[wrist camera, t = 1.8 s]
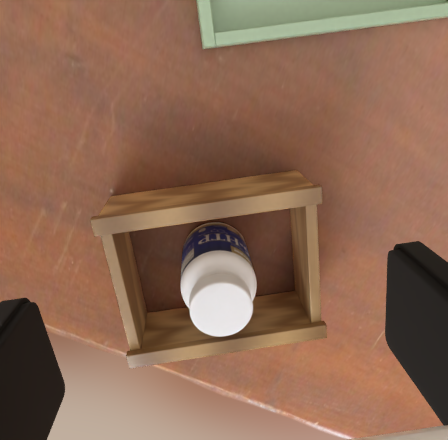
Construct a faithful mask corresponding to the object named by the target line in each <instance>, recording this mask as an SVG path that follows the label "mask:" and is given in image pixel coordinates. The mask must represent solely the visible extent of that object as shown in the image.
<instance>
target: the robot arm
mask: <svg viewBox="0 0 448 440" xmlns="http://www.w3.org/2000/svg"><path fill="white" fill-rule="evenodd" d="M385 336H386V341H387V344H388V346H389V348H390V349H391V351H392V352H393V354H394V355H395V357H396V358H397V359H398V361H399V362H400V364H401V365H402V367H403V368H404V369H405V371H406V372H407V374H408V375H409V377H410V378H411V379H412V381H413V382H414V384H415V385H416V386H417V388H418V389H419V391H420V392H421V394H422V395H423V396H424V398H425V399H426V401H427V402H428V404H429V405H430V406H431V408H432V409H433V411H434V412H435V413H436V415H437V416H438V418H439V419H440V421H441V422H442V423H443V425H444V426H437V427H430V428H423V429H416V430H409V431H402V432H396V433H389V434H382V435H376V436H369V437H362V438H355V439H349V440H448V262H446V261H445V260H444V259H442V258H441V257H440V256H438V255H437V254H436V253H434V252H433V251H432V250H430V249H429V248H428V247H427V246H425V245H424V244H423V243H421V242H419V241H416V242H409V243H402V244H396V245H395V247H394V250H391V251H389V253H388V262H387V294H386V326H385ZM64 393H65V384H64V380H63V377H62V374H61V371H60V369H59V366H58V363H57V360H56V357H55V354H54V351H53V348H52V346H51V343H50V340H49V337H48V335H47V331H46V328H45V325H44V323H43V320H42V317H41V314H40V311H39V308H38V306H37V304H36V303H34V302H30V301H29V300H28V299H27V298H21V299H14V300H7V301H2V302H1V303H0V440H47V437H48V435H49V432H50V429H51V427H52V425H53V422H54V420H55V417H56V415H57V412H58V410H59V407H60V405H61V402H62V400H63V397H64Z"/></svg>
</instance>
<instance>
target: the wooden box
mask: <svg viewBox="0 0 448 440" xmlns="http://www.w3.org/2000/svg"><path fill="white" fill-rule="evenodd" d="M317 204H322V186H320V185H319V184H318V185H313V184H312V183H310V182H309V181H308V180H307V179H306V178H305V177H304V176H303V175H302V174H301V173H300V172H299V171H297V170H293V171H286V172H279V173H272V174H265V175H258V176H251V177H244V178H237V179H229V180H222V181H215V182H208V183H201V184H194V185H187V186H180V187H173V188H166V189H159V190H152V191H145V192H137V193H130V194H123V195H116V196H111V197H110V198H109V200H108V201H107V203H106V204H105V206H104V208H103V209H102V211H101V212H100V214H99V215H98V216H93V217H92V218H91V219H90V222H91V226H92V229H93V233H94V236H101V240H102V243H103V247H104V251H105V255H106V259H107V263H108V267H109V271H110V274H111V278H112V282H113V286H114V290H115V294H116V298H117V301H118V305H119V309H120V313H121V317H122V321H123V325H124V329H125V332H126V336H127V340H128V344H129V348H130V351H127V355H126V357H127V361H128V365H129V368H136V367H143V366H149V365H156V364H162V363H169V362H175V361H182V360H188V359H194V358H201V357H207V356H214V355H220V354H227V353H233V352H240V351H246V350H252V349H259V348H265V347H272V346H278V345H285V344H291V343H297V342H304V341H310V340H317V339H323V338H327V325H326V323H325V322H324V321H321V298H320V272H319V247H318V221H317ZM289 208H290V221H291V236H292V251H293V266H294V281H295V291H290V292H283V293H277V294H270V295H264V296H257V297H254V300H253V301H252V302H253V313H252V316H251V319H250V320H249V322H248V323H247V325H246V326H245V327H244V328H243V329H242V330H240V331H239V332H237V333H235V334H232V335H229V336H222V337H218V336H211V335H208V334H205V333H203V332H202V331H200V330H199V329H198V328H197V327H196V326H195V325H194V323H193V322H192V319H191V317H190V311H189V308H188V307H184V308H178V309H171V310H164V311H158V312H151V313H147V309H146V304H145V300H144V296H143V291H142V287H141V282H140V278H139V274H138V269H137V265H136V261H135V256H134V252H133V248H132V243H131V239H130V234H129V232H130V231H137V230H144V229H151V228H158V227H165V226H172V225H179V224H185V223H192V222H199V221H206V220H213V219H220V218H227V217H234V216H241V215H248V214H255V213H262V212H269V211H276V210H282V209H289Z"/></svg>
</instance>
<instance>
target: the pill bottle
mask: <svg viewBox="0 0 448 440" xmlns="http://www.w3.org/2000/svg"><path fill="white" fill-rule="evenodd" d="M180 285H181V294H182V297H183V300H184V302H185V304H186V305H187V307H188V308H189V311H190V317H191V319H192V322H193V323H194V325H195V326H196V327H197V328H198V329H199V330H200V331H202V332H203V333H205V334H208V335H211V336H218V337H222V336H229V335H232V334H235V333H237V332H239V331H240V330H242V329H243V328H244V327H245V326H246V325H247V323H248V322H249V320H250V319H251V316H252V313H253V302H252V301H253V300H254V297H255V294H256V289H257V281H256V276H255V272H254V269H253V266H252V262H251V259H250V256H249V252H248V249H247V246H246V243H245V240H244V238H243V236H242V235H241V234H240V232H238V231H237V230H236V229H235V228H233V227H232V226H230V225H228V224H225V223H221V222H211V223H206V224H203V225H201V226H199V227H197V228H195V229H194V230H193V231H192V232H191V233H190V234H189V235H188V237H187V238H186V240H185V243H184V246H183V252H182V266H181V282H180Z"/></svg>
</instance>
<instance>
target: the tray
mask: <svg viewBox="0 0 448 440" xmlns="http://www.w3.org/2000/svg"><path fill="white" fill-rule="evenodd" d="M196 3H197V10H198V18H199V26H200V33H201V41H202V48H203V49H210V48H217V47H225V46H233V45H240V44H248V43H256V42H263V41H271V40H279V39H286V38H294V37H302V36H309V35H317V34H325V33H332V32H340V31H348V30H355V29H363V28H371V27H379V26H386V25H394V24H402V23H409V22H417V21H425V20H432V19H440V18H448V0H196Z"/></svg>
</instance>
